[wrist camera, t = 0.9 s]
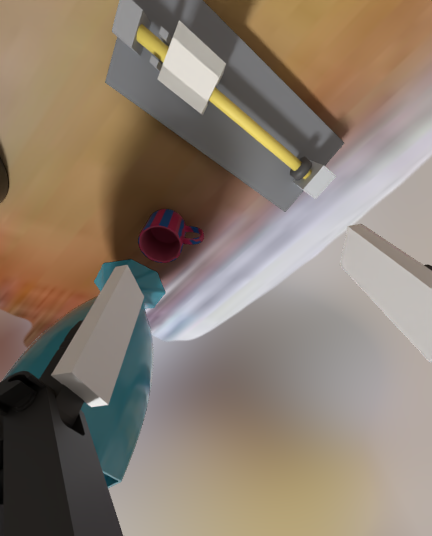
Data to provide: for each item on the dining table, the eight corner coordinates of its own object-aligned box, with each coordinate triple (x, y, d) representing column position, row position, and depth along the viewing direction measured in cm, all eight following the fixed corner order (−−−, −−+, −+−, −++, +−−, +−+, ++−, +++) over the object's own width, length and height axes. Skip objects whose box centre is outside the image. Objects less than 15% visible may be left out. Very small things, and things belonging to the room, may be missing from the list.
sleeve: (167, 87, 25) (157, 79, 20) (185, 42, 23) (179, 20, 18) (202, 115, 27) (201, 113, 22) (222, 75, 25) (226, 63, 20)
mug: (146, 207, 36) (135, 223, 30) (205, 211, 36) (204, 227, 31) (150, 242, 39) (140, 261, 34) (203, 245, 40) (202, 265, 35)
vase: (185, 280, 45) (158, 470, 21) (148, 323, 53) (97, 499, 28) (106, 237, 39) (-70, 440, 14) (77, 294, 46) (-69, 488, 22)
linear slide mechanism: (109, 84, 26) (87, 75, 22) (147, -49, 21) (128, -102, 16) (282, 209, 37) (294, 222, 32) (339, 142, 31) (363, 146, 26)
